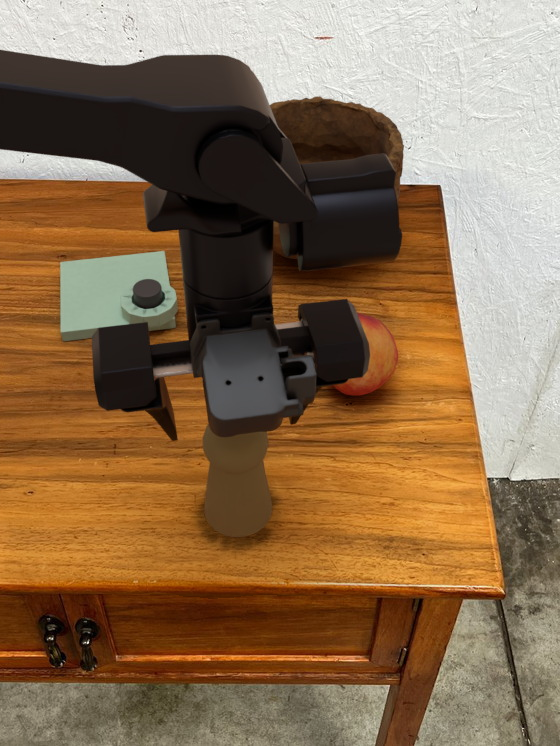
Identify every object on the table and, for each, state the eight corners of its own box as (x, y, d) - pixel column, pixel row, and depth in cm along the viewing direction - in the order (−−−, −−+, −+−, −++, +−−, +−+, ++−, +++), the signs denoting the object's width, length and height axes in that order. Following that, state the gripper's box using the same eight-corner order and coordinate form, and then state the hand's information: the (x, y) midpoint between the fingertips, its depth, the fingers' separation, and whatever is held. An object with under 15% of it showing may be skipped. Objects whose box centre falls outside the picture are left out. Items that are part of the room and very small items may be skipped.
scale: (62, 347, 82) (57, 327, 79) (62, 271, 90) (57, 250, 88) (181, 333, 83) (178, 312, 81) (169, 259, 92) (167, 239, 90)
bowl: (391, 205, 100) (406, 96, 90) (390, 300, 88) (408, 186, 77) (247, 195, 102) (245, 86, 91) (225, 287, 89) (220, 172, 78)
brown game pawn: (235, 468, 71) (231, 387, 63) (286, 503, 68) (289, 423, 60) (189, 511, 68) (179, 431, 60) (241, 550, 65) (238, 472, 57)
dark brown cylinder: (135, 311, 82) (133, 298, 80) (133, 292, 84) (131, 280, 82) (164, 307, 82) (162, 295, 81) (161, 289, 84) (159, 277, 83)
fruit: (402, 365, 81) (413, 307, 75) (379, 419, 75) (389, 362, 70) (330, 344, 82) (336, 286, 77) (303, 396, 77) (307, 338, 71)
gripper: (79, 380, 42) (117, 535, 53) (408, 339, 45) (378, 495, 56) (76, 255, 50) (110, 414, 61) (357, 227, 52) (340, 384, 64)
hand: (233, 428), depth 60 cm, fingers open, 9 cm apart
